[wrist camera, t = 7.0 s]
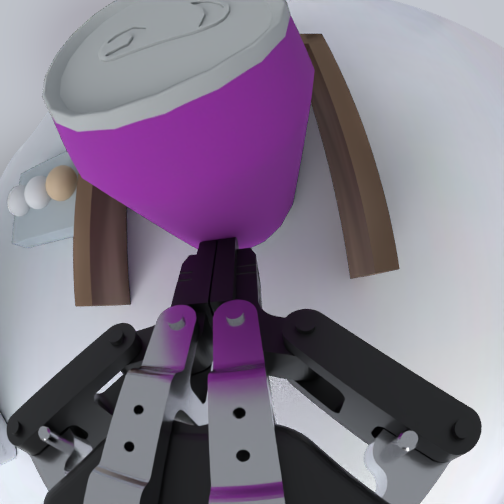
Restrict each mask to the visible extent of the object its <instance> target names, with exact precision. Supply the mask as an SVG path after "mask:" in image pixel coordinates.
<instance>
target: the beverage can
mask: <svg viewBox="0 0 504 504" xmlns="http://www.w3.org/2000/svg"><path fill="white" fill-rule="evenodd" d="M314 71H315V70H314V67H313V65H312V62H311V60H310V57H309V55H308V52H307V50H306V48H305V46H304V43H303V41H302V39H301V36H300V34H299V32H298V30H297V28H296V26H295V24H294V21H293V19H292V17H291V15H290V12H289V8H288V5H287V2H286V1H285V0H116V1H114V2H112V3H111V4H109V5H108V6H106V7H105V8H103V9H102V10H100V11H99V12H97V13H96V14H94V15H93V16H92V17H91V18H90V19H89V20H87V21H86V22H85V23H84V24H83V25H82V26H81V27H80V28H79V29H77V30H76V31H75V32H74V33H73V34H72V35H71V37H70V38H69V39H68V40H67V41H66V43H65V44H64V45H63V47H62V48H61V49H60V50H59V52H58V53H57V54H56V56H55V58H54V59H53V62H52V63H51V65H50V67H49V69H48V72H47V74H46V76H45V79H44V87H43V93H42V98H43V100H44V102H45V104H46V106H47V108H48V111H49V113H50V114H51V116H52V118H53V120H54V123H55V125H56V128H57V130H58V132H59V134H60V137H61V139H62V141H63V143H64V146H65V148H66V150H67V152H68V154H69V156H70V158H71V160H72V161H73V163H74V165H75V167H76V168H77V170H78V172H79V174H80V175H81V177H82V178H83V179H84V180H86V181H87V182H89V183H91V184H92V185H94V186H95V187H97V188H98V189H100V190H102V191H103V192H105V193H106V194H108V195H109V196H111V197H113V198H114V199H116V200H117V201H119V202H120V203H122V204H124V205H125V206H127V207H128V208H130V209H132V210H133V211H135V212H137V213H138V214H140V215H141V216H143V217H145V218H146V219H148V220H149V221H151V222H153V223H154V224H156V225H158V226H159V227H161V228H163V229H164V230H166V231H167V232H169V233H171V234H172V235H174V236H176V237H177V238H179V239H181V240H182V241H184V242H186V243H188V244H189V245H191V246H193V247H195V248H196V249H198V247H199V243H200V242H204V241H211V240H219V239H225V238H233V237H236V238H237V241H238V245H239V249H243V248H251V247H253V246H256V245H258V244H260V243H262V242H264V241H265V240H266V239H267V238H269V237H270V236H271V235H272V234H273V233H274V232H275V231H276V230H277V229H278V228H279V227H280V226H281V225H282V223H283V221H284V219H285V217H286V216H287V214H288V212H289V210H290V208H291V206H292V205H293V200H294V195H295V190H296V185H297V179H298V174H299V169H300V163H301V158H302V152H303V146H304V141H305V135H306V129H307V123H308V117H309V111H310V105H311V98H312V89H313V81H314Z"/></svg>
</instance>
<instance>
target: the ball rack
mask: <svg viewBox="0 0 504 504" xmlns="http://www.w3.org/2000/svg"><path fill="white" fill-rule="evenodd" d="M78 173H79V172H78V170H77V168H76V167H75V165H74V163H73V161H72V160H71V158H70V156H69V154H68V152H64V153H62V154H60V155H58V156H55V157H53V158H51V159H49V160H47V161H45V162H43V163H41V164H39V165H37V166H35V167H33V168H31V169H29V170H27V171H25V172H23V173H22V174H21V177H20V182H19V185H18V186H16V187H14V188H13V189H12V190H11V191H10V193H9V195H8V198H7V206H8V209H9V211H10V212H11V213H12V214H13V215H14V224H13V236H12V244H15V245H19V246H23V247H27V248H30V247H34V246H37V245H41V244H45V243H49V242H53V241H57V240H61V239H66V238H70V237H73V235H74V214H75V200H76V190H77V181H78Z"/></svg>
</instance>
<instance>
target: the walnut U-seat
mask: <svg viewBox="0 0 504 504" xmlns="http://www.w3.org/2000/svg"><path fill="white" fill-rule="evenodd" d="M300 36H301V39H302V41H303V43H304V46H305V48H306V50H307V52H308V55H309V57H310V60H311V62H312V65H313V67H314V70H315V71H314V81H313V89H312V98H311V104H312V107H313V111H314V114H315V117H316V121H317V124H318V128H319V131H320V135H321V138H322V142H323V146H324V149H325V153H326V157H327V161H328V165H329V169H330V173H331V177H332V182H333V186H334V191H335V195H336V200H337V204H338V209H339V214H340V219H341V224H342V230H343V235H344V241H345V247H346V253H347V259H348V265H349V272H350V279H352V278H358V277H364V276H370V275H375V274H379V273H384V272H388V271H393V270H397V269H399V263H398V257H397V251H396V245H395V240H394V235H393V230H392V225H391V221H390V216H389V212H388V207H387V203H386V199H385V195H384V191H383V188H382V184H381V180H380V177H379V173H378V170H377V166H376V163H375V160H374V157H373V153H372V150H371V147H370V144H369V141H368V138H367V135H366V132H365V130H364V127H363V124H362V121H361V119H360V116H359V113H358V111H357V108H356V106H355V103H354V101H353V98H352V96H351V94H350V91H349V89H348V87H347V84H346V82H345V80H344V78H343V75H342V73H341V71H340V69H339V67H338V65H337V63H336V60H335V58H334V56H333V54H332V52H331V50H330V48H329V47H328V45H327V43H326V41H325V39H324V37H323V35H322V34H300ZM126 219H127V206H125V205H124V204H122V203H120V202H119V201H117V200H116V199H114V198H113V197H111V196H109V195H108V194H106V193H105V192H103V191H102V190H100V189H98V188H97V187H95V186H94V185H92V184H91V183H89V182H87V181H86V180H84V179H83V178H82V177H81V175H80V174H79V173H78V181H77V190H76V200H75V214H74V235H73V271H74V293H75V306H113V305H129V304H131V303H130V292H129V279H128V262H127V223H126Z"/></svg>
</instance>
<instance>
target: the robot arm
mask: <svg viewBox="0 0 504 504" xmlns="http://www.w3.org/2000/svg"><path fill="white" fill-rule="evenodd" d="M120 371H121V372H122V373H123V375H122V376H121V377H120V378H119V379H118V380H117V381H116V382H115V383H113V384H112V385H111V386H110V387H109V388H108V389H107V390H106V391H105V392H103V393H100V394H97V392H98V391H99V390H100V389H101V388H102V387H103V386H104V385H105V384H106V383H107V382H109V381H110V380H111V379H112V378H113V377H114V376H115V375H116V374H117V373H119V372H120ZM269 376H274V377H279V378H284V379H287V380H288V381H289V382H290V383H291V384H292V385H293V386H294V387H295V388H296V389H298V390H299V391H300V392H301V393H302V394H304V395H305V396H306V397H307V398H308V399H310V400H311V401H312V402H313V403H315V404H316V405H317V406H318V407H319V408H321V409H322V410H323V411H324V412H326V413H327V414H328V415H330V416H331V417H332V418H333V419H335V420H336V421H337V422H339V423H340V424H341V425H343V426H344V427H345V428H346V429H348V430H349V431H350V432H352V433H353V434H354V435H356V436H357V437H359V438H360V439H361V440H363V441H364V442H365V443H367V444H368V447H367V449H366V451H365V454H364V463H365V466H366V468H367V469H368V470H369V471H370V472H371V473H372V474H373V476H374V477H375V480H376V484H377V485H376V492H373V491H372V490H371V489H369V488H368V487H367V486H365V485H364V484H363V483H361V482H360V481H359V480H358V479H356V478H355V477H354V476H352V475H351V474H350V473H349V472H347V471H346V470H345V469H344V468H343V467H341V466H340V465H339V464H338V463H337V462H335V461H334V460H333V459H332V458H331V457H329V456H328V455H327V454H326V453H325V452H324V451H323V450H321V449H320V448H319V447H318V446H317V445H316V444H315V443H314V442H313V441H311V440H310V439H309V438H308V437H306V436H305V435H303V434H302V433H300V432H298V431H296V430H294V429H291V428H288V427H286V426H282V425H278V424H277V423H276V417H275V411H274V405H273V400H272V393H271V387H270V380H269ZM480 435H481V421H480V418H479V416H478V414H477V413H476V412H475V411H474V410H473V409H472V408H470V407H468V406H467V405H465V404H464V403H462V402H460V401H459V400H457V399H455V398H454V397H452V396H451V395H449V394H447V393H446V392H444V391H443V390H441V389H439V388H438V387H436V386H435V385H433V384H431V383H430V382H428V381H427V380H425V379H423V378H422V377H420V376H419V375H417V374H415V373H414V372H412V371H411V370H409V369H407V368H406V367H404V366H403V365H401V364H400V363H398V362H396V361H395V360H393V359H392V358H390V357H389V356H387V355H385V354H384V353H382V352H381V351H379V350H378V349H376V348H374V347H373V346H371V345H370V344H368V343H367V342H365V341H364V340H362V339H360V338H359V337H357V336H356V335H354V334H353V333H351V332H350V331H348V330H347V329H345V328H343V327H342V326H340V325H339V324H337V323H336V322H334V321H333V320H331V319H330V318H328V317H327V316H325V315H323V314H322V313H320V312H318V311H316V310H312V309H301V310H297V311H294V312H292V313H291V314H289V315H288V316H287V317H286V318H283V317H277V316H273V315H270V314H268V313H266V312H265V311H264V310H263V309H262V301H261V286H260V278H259V272H258V265H257V259H256V254H255V253H254V252H253V251H252V249H251V248H243V249H239V245H238V241H237V238H236V237H233V238H225V239H219V240H211V241H204V242H200V243H199V247H198V252H197V255H189V256H188V258H187V259H186V260H185V261H184V263H183V264H182V267H181V271H180V274H179V278H178V282H177V285H176V289H175V293H174V297H173V301H172V304H171V307H170V308H168V309H166V310H165V311H163V312H162V313H161V314H160V316H159V317H158V319H157V322H156V325H154V326H152V327H149V328H146V329H143V330H139V331H135V329H134V328H133V327H132V326H131V325H130V324H127V323H120V324H116V325H114V326H112V327H111V328H109V329H108V330H107V331H106V332H104V333H103V334H102V335H101V336H100V337H99V338H97V339H96V340H95V341H94V342H93V343H92V344H90V345H89V346H88V347H87V348H86V349H85V350H84V351H82V352H81V353H80V354H79V355H78V356H77V357H75V358H74V359H73V360H72V361H71V362H70V363H69V364H68V365H66V366H65V367H64V368H63V369H62V370H61V371H60V372H59V373H57V374H56V375H55V376H54V377H53V378H52V379H51V380H50V381H48V382H47V383H46V384H45V385H44V386H43V387H42V388H41V389H40V390H39V391H38V392H36V393H35V394H34V395H33V396H32V397H31V398H30V399H29V400H28V401H27V402H26V403H25V404H23V405H22V406H21V407H20V408H19V409H18V410H17V411H16V412H15V413H14V414H13V415H12V416H11V417H10V419H9V421H8V423H7V425H6V422H5V420H4V418H3V417H2V415H1V413H0V465H2V464H5V463H7V462H9V461H11V460H13V459H14V458H15V457H16V448H15V446H16V447H18V448H19V449H21V450H23V451H25V452H27V453H28V454H29V455H30V456H31V458H32V461H33V463H34V465H35V467H36V469H37V471H38V473H39V475H40V477H41V478H42V480H43V482H44V484H45V486H46V487H47V489H48V491H49V492H48V493H47V495H46V497H45V499H44V504H420V503H421V501H422V500H423V499H424V498H425V496H426V495H427V494H428V493H429V491H430V490H431V488H432V487H433V486H434V484H435V483H436V482H437V480H438V479H439V477H440V476H441V474H442V473H443V471H444V470H445V468H446V467H447V465H448V464H449V463H450V461H452V460H453V459H455V458H457V457H459V456H461V455H463V454H465V453H467V452H469V451H470V450H471V449H472V448H473V447H474V446H475V445H476V444H477V442H478V440H479V438H480Z"/></svg>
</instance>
